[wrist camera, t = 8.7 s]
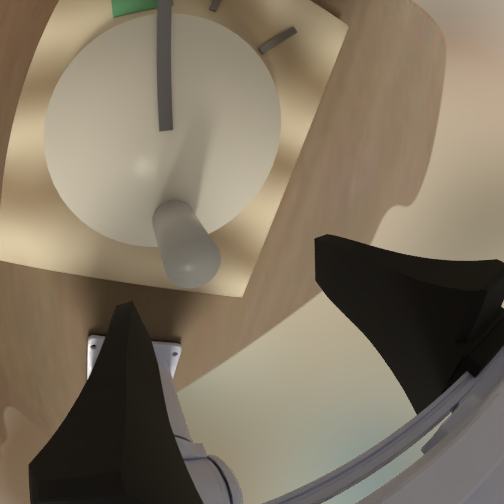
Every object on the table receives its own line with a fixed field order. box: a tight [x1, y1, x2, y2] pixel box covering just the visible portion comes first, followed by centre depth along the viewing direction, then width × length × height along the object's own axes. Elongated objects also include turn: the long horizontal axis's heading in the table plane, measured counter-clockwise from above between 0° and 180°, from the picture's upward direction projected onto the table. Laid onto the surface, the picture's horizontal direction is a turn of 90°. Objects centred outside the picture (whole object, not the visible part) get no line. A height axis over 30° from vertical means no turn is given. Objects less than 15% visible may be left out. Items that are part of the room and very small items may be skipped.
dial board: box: [0, 0, 349, 297], centre depth 16 cm, size 22×18×2 cm
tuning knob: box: [44, 0, 281, 288], centre depth 11 cm, size 18×13×6 cm
